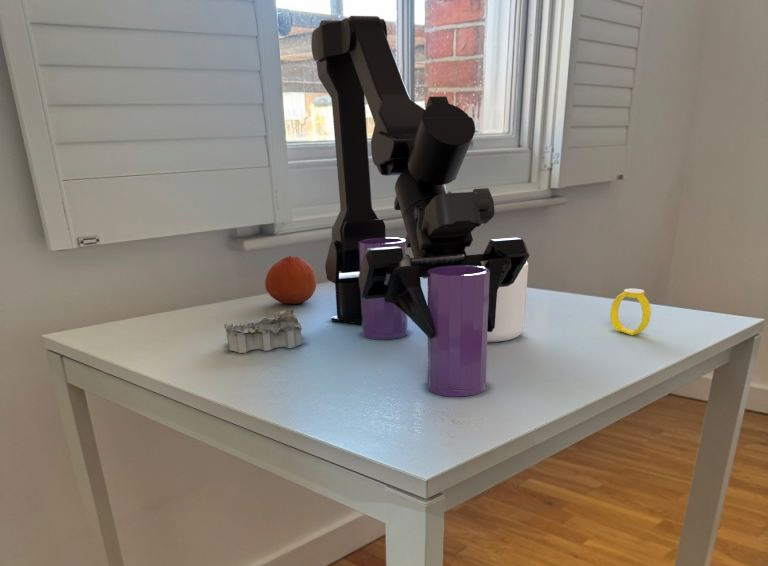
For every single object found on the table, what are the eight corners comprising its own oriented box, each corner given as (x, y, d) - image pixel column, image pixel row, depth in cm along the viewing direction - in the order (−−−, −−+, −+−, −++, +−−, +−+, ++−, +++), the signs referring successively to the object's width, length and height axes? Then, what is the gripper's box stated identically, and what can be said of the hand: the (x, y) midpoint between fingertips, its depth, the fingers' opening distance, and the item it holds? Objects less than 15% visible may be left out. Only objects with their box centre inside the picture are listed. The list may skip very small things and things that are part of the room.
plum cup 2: (417, 391, 80) (416, 273, 74) (445, 375, 85) (446, 263, 79) (469, 400, 77) (472, 277, 70) (495, 383, 81) (500, 267, 75)
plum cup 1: (353, 336, 103) (349, 242, 97) (378, 326, 108) (375, 236, 101) (391, 341, 99) (389, 245, 93) (415, 331, 104) (414, 238, 98)
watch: (604, 330, 101) (609, 288, 99) (617, 327, 103) (623, 285, 100) (637, 338, 97) (644, 294, 94) (651, 335, 98) (657, 292, 95)
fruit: (290, 296, 130) (286, 250, 126) (327, 300, 126) (323, 253, 122) (256, 305, 124) (251, 258, 120) (293, 310, 119) (289, 261, 116)
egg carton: (299, 336, 104) (296, 308, 102) (304, 348, 98) (302, 319, 96) (226, 341, 102) (222, 313, 100) (227, 355, 96) (223, 325, 94)
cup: (522, 345, 96) (527, 269, 91) (449, 343, 98) (451, 268, 93) (524, 327, 104) (529, 257, 100) (457, 326, 106) (459, 257, 101)
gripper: (360, 165, 71) (395, 297, 67) (527, 157, 75) (570, 280, 71) (345, 238, 81) (375, 356, 77) (493, 228, 86) (529, 339, 82)
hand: (462, 333), depth 76 cm, fingers closed on plum cup 2, 7 cm apart
